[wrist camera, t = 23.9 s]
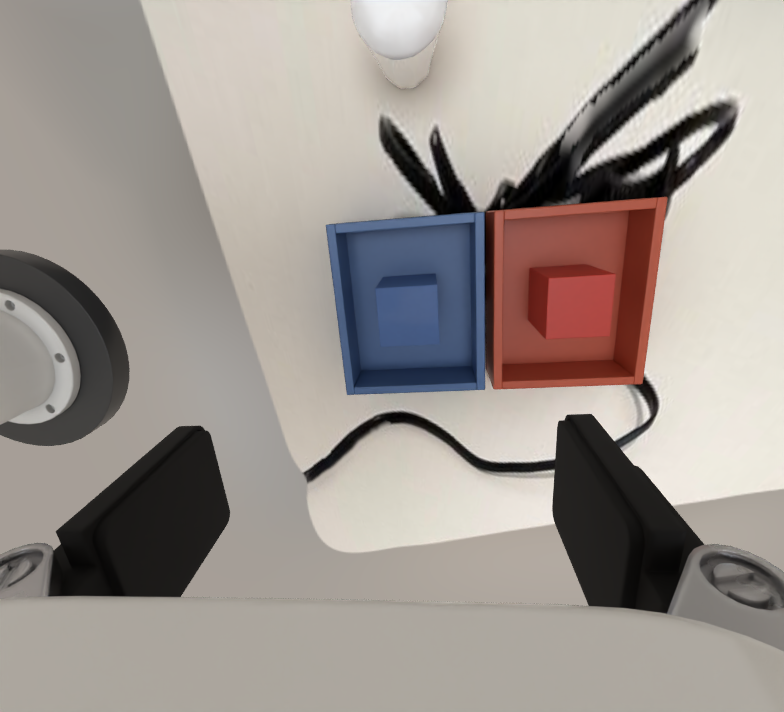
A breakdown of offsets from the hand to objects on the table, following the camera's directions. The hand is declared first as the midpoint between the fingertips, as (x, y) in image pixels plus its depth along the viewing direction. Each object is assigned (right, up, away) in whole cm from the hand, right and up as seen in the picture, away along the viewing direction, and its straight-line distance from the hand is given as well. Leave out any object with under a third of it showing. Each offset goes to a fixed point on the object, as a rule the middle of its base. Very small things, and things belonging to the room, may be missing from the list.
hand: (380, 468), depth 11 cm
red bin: (+13, +8, +20) cm, 25 cm away
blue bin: (+2, +7, +21) cm, 22 cm away
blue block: (+2, +7, +20) cm, 22 cm away
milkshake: (+2, +23, +16) cm, 28 cm away
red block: (+12, +8, +19) cm, 24 cm away
